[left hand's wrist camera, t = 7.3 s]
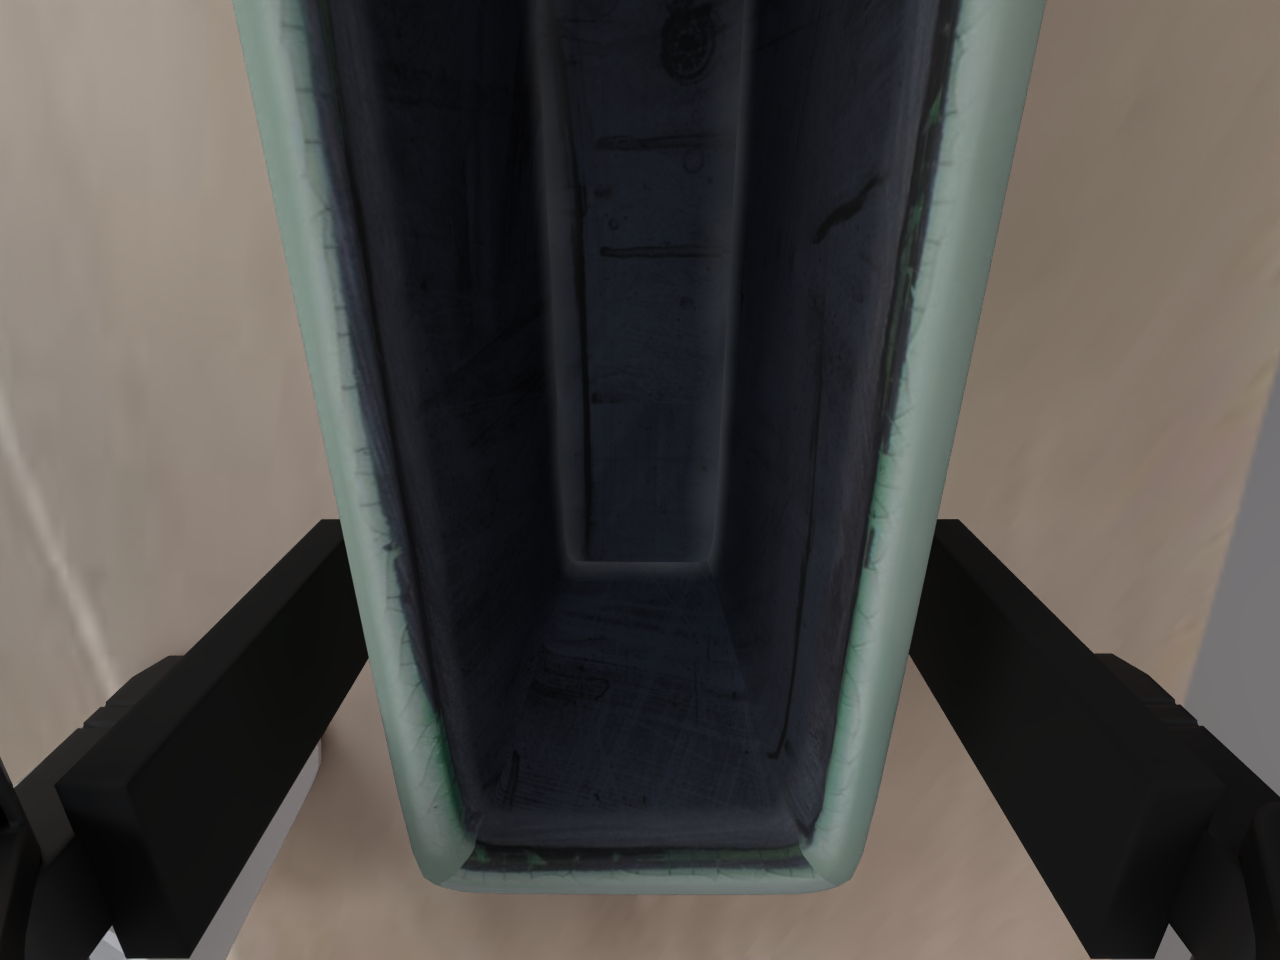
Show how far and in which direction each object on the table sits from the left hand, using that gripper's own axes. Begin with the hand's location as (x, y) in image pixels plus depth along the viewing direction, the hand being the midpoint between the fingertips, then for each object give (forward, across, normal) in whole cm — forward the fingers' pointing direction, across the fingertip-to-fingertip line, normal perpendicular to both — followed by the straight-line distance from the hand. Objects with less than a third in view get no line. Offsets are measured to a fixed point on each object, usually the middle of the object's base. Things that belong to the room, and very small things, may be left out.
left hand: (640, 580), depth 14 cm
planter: (+2, 0, -11) cm, 11 cm away
